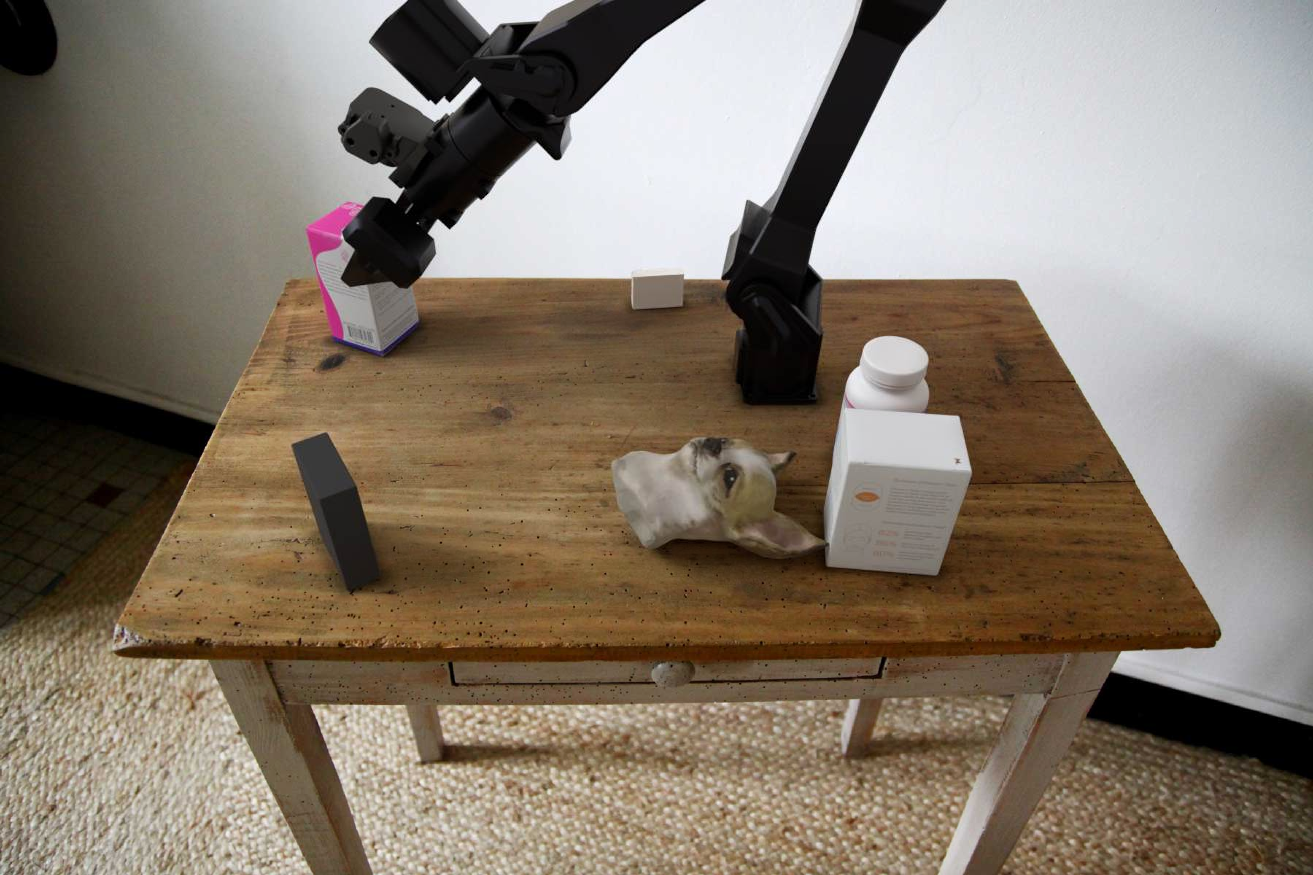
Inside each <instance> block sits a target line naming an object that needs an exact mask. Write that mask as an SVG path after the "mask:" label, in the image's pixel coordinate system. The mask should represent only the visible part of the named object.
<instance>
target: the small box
mask: <svg viewBox="0 0 1313 875" xmlns="http://www.w3.org/2000/svg"><path fill="white" fill-rule="evenodd" d="M972 475H973V471H972V466H971V462H970V457H969V453H968V449H967V443H966V441H965V436H964V431H963V427H962V422H961V419H960V416H959V415H950V414H935V413H933V414H932V413H925V414H923V413H908V412H895V411H880V410H867V409H853V408H845V409H844V411H843V415H842V420H841V425H840V430H839V435H838V440H837V445H836V450H835V455H834V459H833V458H832V466H831V470H830V476H829V481H828V486H827V490H826V496H825V500H824V501H825V503H824V506H823V535H824V537H823V538H824V541H826V542H828V543H829V545H828V546H827V547H824V556H825V566H826V567H828V568H840V569H851V570H852V569H854V570H864V571H865V570H866V571H875V572H876V571H877V572H886V573H887V572H889V573H900V574H914V575H926V576H938V575H939V572H940V569H941V566H942V563H943V560H944V557H945V554H946V552H947V549H948V546H949V542H950V539H951V536H952V533H953V530H954V528H955V524H956V522H957V519H958V515H959V513H960V510H961V507H962V504H963V501H964V499H965V496H966V493H967V490H968V487H969V484H970V481H971V478H972Z"/></svg>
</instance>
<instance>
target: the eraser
mask: <svg viewBox="0 0 1313 875" xmlns="http://www.w3.org/2000/svg"><path fill="white" fill-rule="evenodd" d="M684 284H685V272H684V268H683V267H682V266H681V267H680V266H679V267H663V268H647V269H644V268H643V269H631V307H632V310H645V309H661V308H676V307H677V308H678V307H683V303H684Z"/></svg>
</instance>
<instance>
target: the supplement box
mask: <svg viewBox="0 0 1313 875" xmlns="http://www.w3.org/2000/svg"><path fill="white" fill-rule="evenodd" d="M364 205H365V204H364ZM364 205H363V204H360V203H355V202H352V201H346V202H345V203H342V204H341V205H340V206H338V207H337V208H335V209H333V211H330V212H328V214H326V215H324V216H322V217H321V218H320V219H318V220H316V221H314V222H313V223H311V224H309V225H308V226H306V227H305V232H306V236H307V240H308V241H307V242H308V244H309V249H310V252H311V256H312V260H313V264H314V268H315V272H316V276H317V277H316V278H317V280H318V284H319V289H320V293H321V296H322V300H323V304H324V308H325V312H326V316H327V320H328V323H329V328H330V334H331V336H332V340H333V341H334V342H336V343H339V344H343V345H345V346H348V347H352V348H354V349H359V350H361V351H364V352H367V353H370V354H374V355H376V356H379V357H384V356H385V355H387V354H388V353H389V352H390V351H392V350H393V348H395V347H396V346H397V345H398V344H400V342H402V341H403V340H405V339H406V337H408V336H409V335H410V334H411V333H412V332H413V331H415V329H417V328H418V327H419V325H420V320H419V314H418V309H417V304H416V303H417V302H416V298H415V292H414V287H413V284H412V285H411V286H410V287H409V288H408V289H404V288H398V287H397V286H396V285H395V284H394V283H393V282H383V283H376V284H369V285H363V286H356V287H349V286H347V285H346V284H345V283H344V282H343V281H342V280H341V276H342V274H343V272H344V270H345V268H346V266H347V264H348V262H349V260H350V258H351V256H352V254H353V252H354V250H355V249H353V248H352V247H351V246H350V245H349V244H348V243H347V242H345V241H344V238H343V234H342V231H343V229H344V228H345V227H346V226H347V225H348V223H349V222H350V221H351V220H352V219H353V218H354V216H355V215H356V214H357V213H358V212H359V211H360V210H361V209H362V207H363V206H364Z"/></svg>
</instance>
